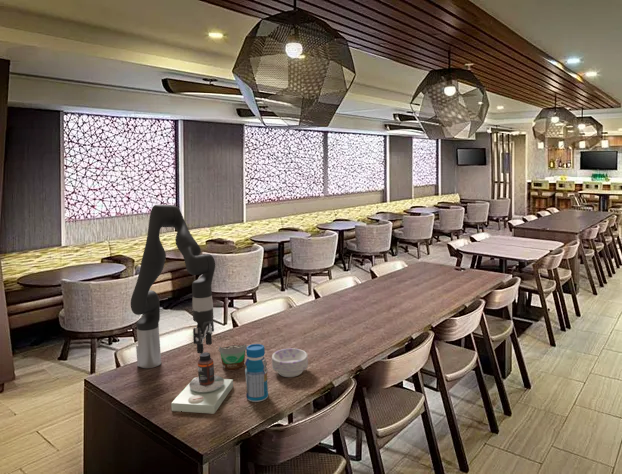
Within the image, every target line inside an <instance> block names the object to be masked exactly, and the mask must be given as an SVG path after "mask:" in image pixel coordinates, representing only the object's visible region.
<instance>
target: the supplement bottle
mask: <svg viewBox="0 0 622 474" xmlns="http://www.w3.org/2000/svg"><path fill="white" fill-rule="evenodd" d="M214 365H215V364H214V359H213V358H212V357H211V353H210V352H205V351H204V352H203V353H202V354H201V353H199V359H198V360H197V372H198V377H199V383H200V384H202V385H209V384H212V383H213V382H214V380H215V377H214V375H215V368H214V367H215V366H214Z"/></svg>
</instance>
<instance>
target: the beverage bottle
mask: <svg viewBox="0 0 622 474" xmlns="http://www.w3.org/2000/svg"><path fill="white" fill-rule="evenodd" d="M246 346H247V348H246V350H245V354H246V357H247V358H246V360H245V362H244V367H245V369H244V374H245V389H246V392H245V393H246V395H245V396H246V400H247V401H249V402H251V403H252V402H253V403H260V402H264V401H265V400H266V399H268V397H269V391H268V388H269V387H268V373H269V372H268V367H267V365H268V362H267V360H266V358H265V353H266V352H265V351H266V350H265V345H263V344H260V343H254V344H253V343H252V344H249V345H246Z"/></svg>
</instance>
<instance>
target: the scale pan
mask: <svg viewBox="0 0 622 474" xmlns="http://www.w3.org/2000/svg"><path fill="white" fill-rule="evenodd" d="M214 377H215V380H214V382H213V383H212V384H209V385H202V384H200V383H199V376H197V377H196V378H195V377H194V378H195V379H194V378H193V379H192V380H191V381H190V382H189V383H190V384H189V383H188V384H189V385H190V389H191V390H192V391H194V392H198V393H207V392H212V391H216V390H218V389H220V388H221V387H222V386H223V385H224V379H225V378H223V377H221V376H219V375H215V374H214Z"/></svg>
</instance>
